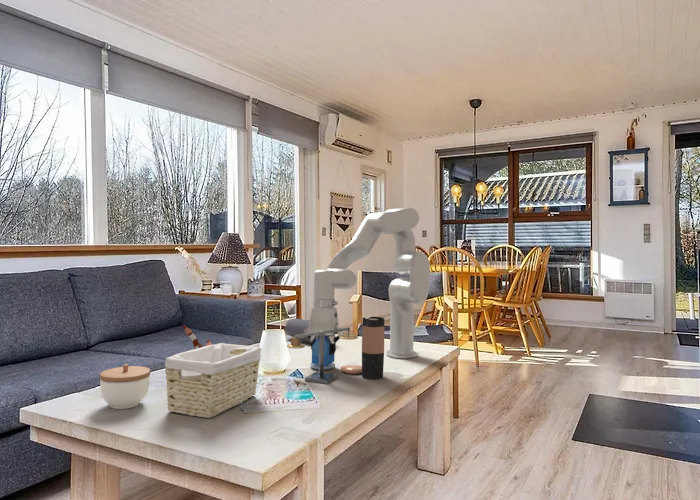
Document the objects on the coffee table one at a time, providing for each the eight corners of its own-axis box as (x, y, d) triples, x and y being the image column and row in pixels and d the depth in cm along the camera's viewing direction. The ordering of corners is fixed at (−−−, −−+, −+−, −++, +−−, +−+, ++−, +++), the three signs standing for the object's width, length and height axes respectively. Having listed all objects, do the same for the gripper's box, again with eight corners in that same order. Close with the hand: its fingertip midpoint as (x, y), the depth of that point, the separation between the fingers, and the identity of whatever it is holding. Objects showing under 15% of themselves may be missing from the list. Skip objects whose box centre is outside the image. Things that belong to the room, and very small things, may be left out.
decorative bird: (176, 356, 177) (193, 318, 177) (223, 375, 178) (240, 337, 179) (151, 377, 148) (171, 332, 149) (207, 400, 150) (227, 355, 150)
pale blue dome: (316, 363, 184) (316, 360, 184) (338, 366, 180) (338, 363, 180) (305, 369, 175) (306, 365, 175) (328, 371, 172) (328, 368, 172)
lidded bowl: (117, 416, 125) (117, 373, 125) (89, 406, 132) (90, 365, 132) (159, 402, 136) (160, 363, 136) (132, 394, 143) (132, 357, 143)
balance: (293, 372, 171) (294, 320, 171) (360, 380, 162) (361, 326, 161) (281, 377, 164) (282, 324, 163) (351, 387, 154) (352, 330, 154)
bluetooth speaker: (332, 344, 220) (332, 322, 220) (316, 347, 213) (317, 324, 213) (299, 337, 236) (299, 316, 235) (283, 339, 229) (284, 318, 229)
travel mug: (382, 380, 162) (383, 320, 162) (359, 378, 164) (360, 319, 164) (385, 374, 170) (386, 317, 170) (363, 373, 171) (364, 316, 171)
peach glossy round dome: (346, 367, 179) (346, 363, 179) (369, 369, 176) (369, 366, 176) (336, 372, 171) (336, 369, 171) (360, 375, 167) (360, 372, 167)
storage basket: (217, 389, 150) (217, 341, 150) (263, 395, 144) (263, 346, 144) (160, 413, 128) (161, 357, 128) (212, 423, 122) (213, 363, 122)
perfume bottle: (311, 363, 176) (312, 330, 176) (319, 359, 182) (319, 327, 182) (327, 365, 174) (328, 331, 174) (334, 361, 180) (335, 328, 180)
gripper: (349, 304, 178) (349, 353, 178) (307, 301, 184) (306, 348, 185) (341, 306, 171) (341, 357, 171) (297, 303, 177) (297, 352, 178)
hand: (323, 352), depth 178 cm, fingers open, 6 cm apart
